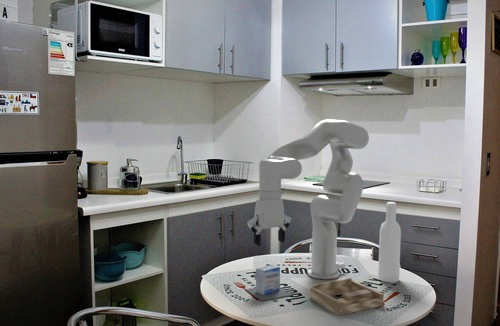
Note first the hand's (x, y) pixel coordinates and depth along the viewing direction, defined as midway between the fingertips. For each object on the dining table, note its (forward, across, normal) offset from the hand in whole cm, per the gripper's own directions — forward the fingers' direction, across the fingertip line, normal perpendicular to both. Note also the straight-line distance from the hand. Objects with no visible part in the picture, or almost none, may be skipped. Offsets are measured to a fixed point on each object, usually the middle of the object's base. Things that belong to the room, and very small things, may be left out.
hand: (269, 243), depth 176 cm
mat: (+18, 0, 0) cm, 18 cm away
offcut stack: (+18, -19, +24) cm, 35 cm away
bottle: (+19, -49, +8) cm, 53 cm away
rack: (+18, -19, +19) cm, 32 cm away
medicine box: (+18, 0, 0) cm, 18 cm away
